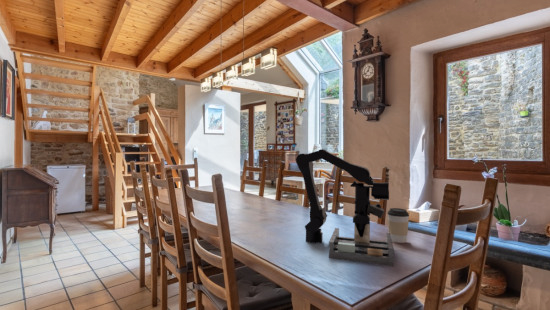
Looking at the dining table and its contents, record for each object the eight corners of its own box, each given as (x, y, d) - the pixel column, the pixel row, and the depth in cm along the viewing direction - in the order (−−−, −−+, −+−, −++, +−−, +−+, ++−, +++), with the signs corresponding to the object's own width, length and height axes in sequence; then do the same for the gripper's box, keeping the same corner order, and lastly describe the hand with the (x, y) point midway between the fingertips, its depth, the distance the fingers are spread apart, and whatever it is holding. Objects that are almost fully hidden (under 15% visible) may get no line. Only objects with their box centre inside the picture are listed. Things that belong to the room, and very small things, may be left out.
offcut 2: (367, 260, 106) (367, 249, 106) (367, 258, 108) (367, 247, 107) (382, 262, 104) (382, 251, 104) (382, 260, 106) (382, 249, 106)
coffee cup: (407, 240, 133) (407, 207, 133) (410, 246, 125) (411, 211, 124) (385, 238, 136) (386, 206, 136) (387, 244, 127) (388, 210, 127)
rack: (328, 260, 108) (329, 241, 108) (335, 244, 127) (335, 228, 127) (393, 268, 101) (393, 248, 101) (389, 250, 120) (390, 233, 120)
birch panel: (354, 245, 121) (354, 223, 120) (354, 243, 122) (354, 222, 122) (369, 246, 119) (370, 224, 119) (369, 245, 121) (370, 223, 120)
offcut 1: (337, 257, 109) (337, 243, 109) (338, 255, 111) (338, 242, 111) (354, 259, 107) (354, 245, 107) (354, 257, 109) (355, 243, 109)
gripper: (384, 203, 109) (383, 245, 109) (382, 195, 127) (381, 232, 127) (353, 201, 112) (352, 242, 113) (355, 194, 130) (354, 229, 130)
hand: (361, 236), depth 121 cm, fingers closed on birch panel, 2 cm apart
